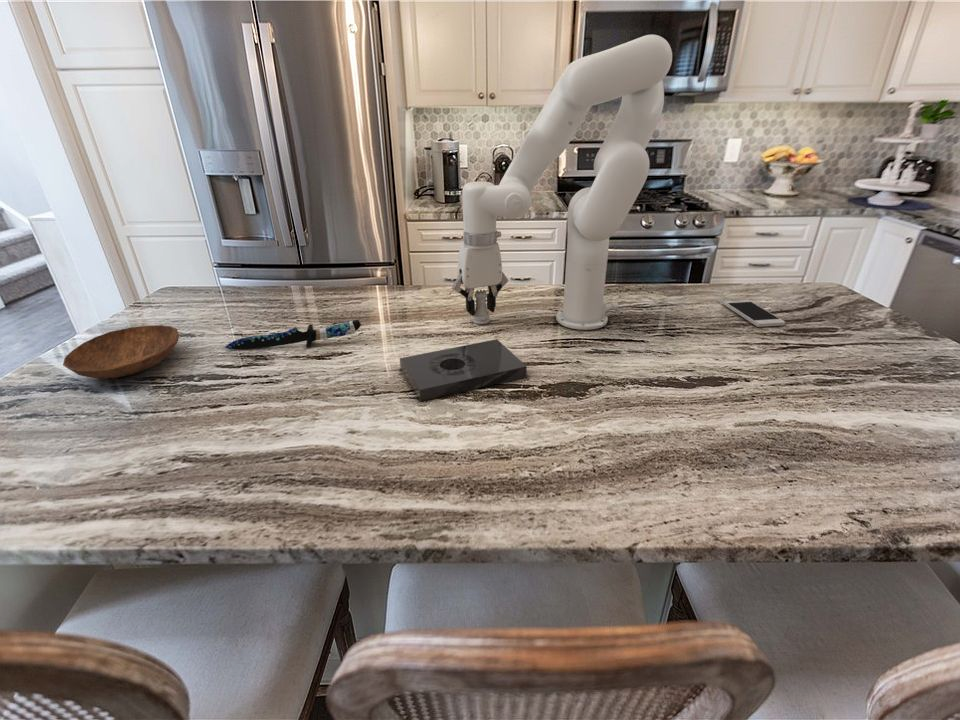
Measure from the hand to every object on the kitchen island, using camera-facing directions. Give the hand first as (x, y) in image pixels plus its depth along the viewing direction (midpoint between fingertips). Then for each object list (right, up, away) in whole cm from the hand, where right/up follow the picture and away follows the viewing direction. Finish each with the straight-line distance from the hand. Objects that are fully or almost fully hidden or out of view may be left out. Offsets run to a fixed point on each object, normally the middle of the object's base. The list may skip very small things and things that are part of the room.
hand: (481, 311), depth 123 cm
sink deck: (-4, -15, -22) cm, 27 cm away
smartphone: (+69, -1, +3) cm, 69 cm away
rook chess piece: (0, -3, +1) cm, 3 cm away
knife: (-42, -9, -10) cm, 44 cm away
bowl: (-74, -14, -18) cm, 78 cm away
